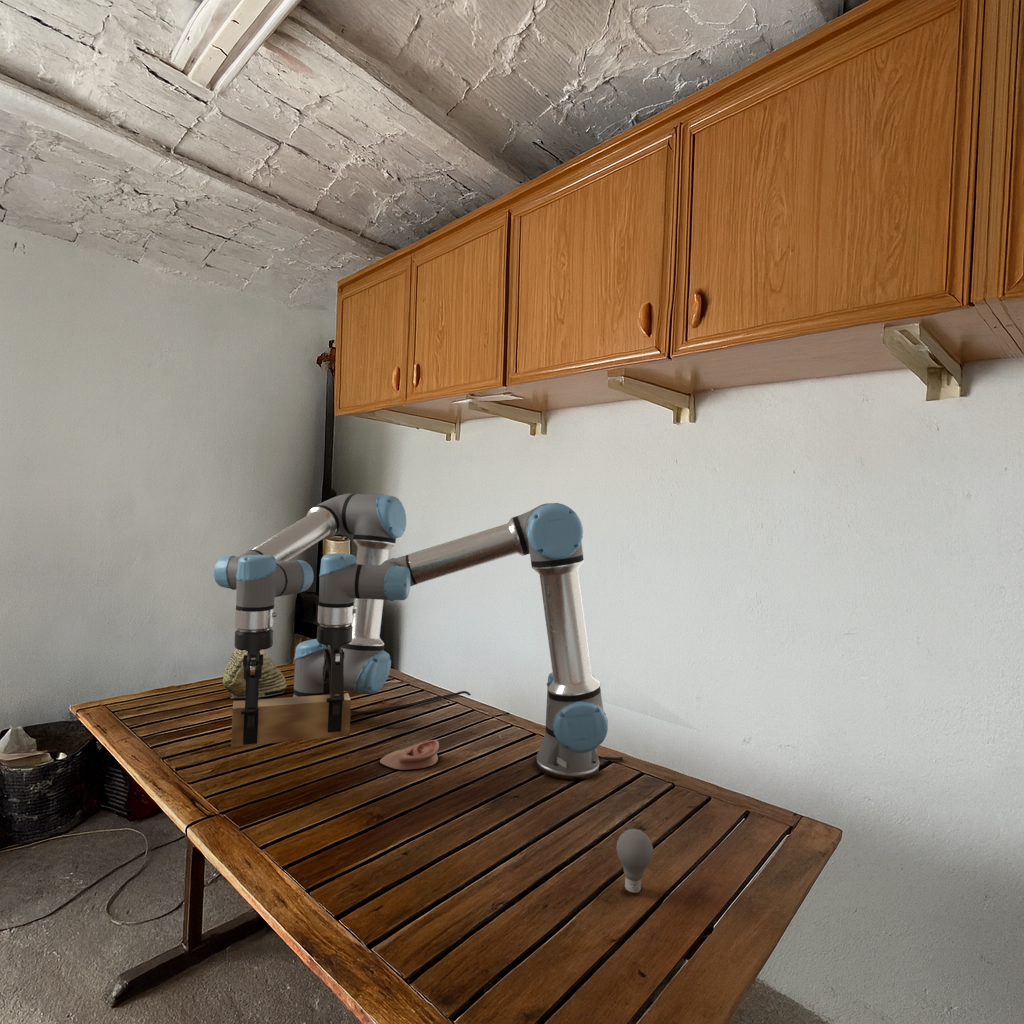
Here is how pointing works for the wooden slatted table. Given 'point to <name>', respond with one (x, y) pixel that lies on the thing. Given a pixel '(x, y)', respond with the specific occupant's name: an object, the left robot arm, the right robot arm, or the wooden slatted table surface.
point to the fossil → (268, 683)
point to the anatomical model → (413, 756)
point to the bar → (290, 719)
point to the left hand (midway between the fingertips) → (250, 738)
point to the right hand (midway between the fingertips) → (331, 720)
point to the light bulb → (634, 857)
